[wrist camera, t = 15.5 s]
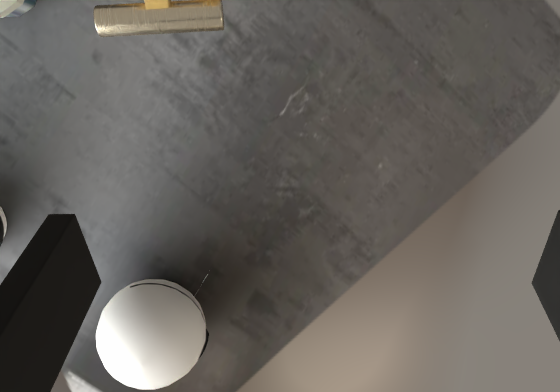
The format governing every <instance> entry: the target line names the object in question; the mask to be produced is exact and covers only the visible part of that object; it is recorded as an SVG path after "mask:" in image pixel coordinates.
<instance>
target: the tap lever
mask: <svg viewBox="0 0 560 392" xmlns="http://www.w3.org/2000/svg"><path fill="white" fill-rule="evenodd" d="M144 1H145V3H133V4H115V5H97V6H95V7H94V23H95V27H96V30H97V32H98V34H99V36H100V37H113V36H131V35H148V34H166V33H184V32H201V31H219V30H224V15H223V5H222V0H189V1H171V0H144Z"/></svg>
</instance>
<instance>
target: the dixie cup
mask: <svg viewBox="0 0 560 392" xmlns="http://www.w3.org/2000/svg"><path fill="white" fill-rule="evenodd" d="M6 230H7V221H6V217H5V214H4V212H3V210H2V208H1V207H0V246H1V244H2V241H3V238H4V236H5V234H6Z"/></svg>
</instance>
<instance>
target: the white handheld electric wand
mask: <svg viewBox="0 0 560 392" xmlns="http://www.w3.org/2000/svg"><path fill="white" fill-rule="evenodd" d="M36 1H37V0H0V18H4V17H5V16H10V17H20V16H21V15H23V14H24V13H26V12H27V11H28V10H30V9H31V8H33V7H34V6H35V4H36Z"/></svg>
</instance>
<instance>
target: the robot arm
mask: <svg viewBox="0 0 560 392" xmlns="http://www.w3.org/2000/svg"><path fill="white" fill-rule="evenodd" d="M100 284H101V280H100V277H99V275H98V272H97V269H96V267H95V264H94V262H93V259H92V257H91V254H90V252H89V249H88V246H87V244H86V241H85V239H84V236H83V234H82V231H81V229H80V226H79V223H78V221H77V218H76V216H75V214H49V215H48V216H47V218H46V219H45V220H44V222H43V223H42V225H41V226H40V228H39V229H38V231H37V232H36V234H35V235H34V237H33V238H32V240H31V241H30V242H29V244H28V245H27V247H26V248H25V250H24V251H23V253H22V254H21V256H20V257H19V259H18V260H17V261H16V263H15V264H14V266H13V267H12V269H11V270H10V272H9V273H8V275H7V276H6V278H5V279H4V281H3V282H2V283H1V285H0V392H50V391H51V389H52V387H53V385H54V383H55V380H56V379H57V376H58V374H59V372H60V370H61V368H62V366H63V363H64V361H65V359H66V357H67V355H68V353H69V351H70V348H71V346H72V344H73V342H74V340H75V338H76V336H77V333H78V331H79V329H80V327H81V325H82V323H83V320H84V318H85V316H86V314H87V312H88V310H89V308H90V305H91V303H92V301H93V299H94V297H95V295H96V292H97V290H98V288H99V286H100ZM532 285H533V287H534V289H535V291H536V293H537V295H538V297H539V299H540V301H541V303H542V305H543V308H544V310H545V311H546V314H547V316H548V318H549V320H550V322H551V324H552V326H553V328H554V330H555V332H556V335H557V337H558V339H559V341H560V210H559V211H558V213H557V216H556V218H555V221H554V224H553V226H552V229H551V232H550V235H549V237H548V240H547V243H546V245H545V248H544V251H543V254H542V256H541V259H540V262H539V264H538V267H537V270H536V273H535V275H534V278H533V281H532Z"/></svg>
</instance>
